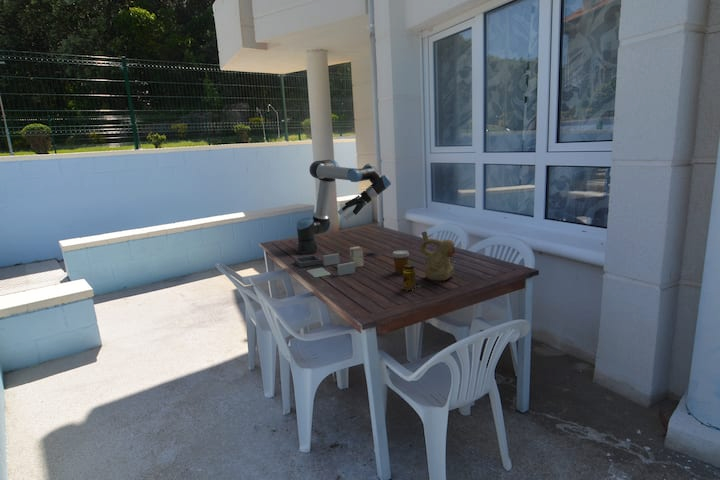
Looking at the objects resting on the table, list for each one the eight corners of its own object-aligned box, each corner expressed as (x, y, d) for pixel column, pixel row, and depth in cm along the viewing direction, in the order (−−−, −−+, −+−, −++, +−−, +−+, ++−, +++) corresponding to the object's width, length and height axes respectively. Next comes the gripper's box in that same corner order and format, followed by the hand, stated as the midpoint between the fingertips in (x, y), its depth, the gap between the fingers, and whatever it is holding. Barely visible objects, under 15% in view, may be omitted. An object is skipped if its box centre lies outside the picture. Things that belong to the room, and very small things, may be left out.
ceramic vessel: (450, 284, 219) (449, 236, 213) (415, 279, 229) (413, 234, 223) (461, 274, 233) (461, 230, 227) (427, 270, 243) (426, 227, 237)
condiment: (400, 289, 216) (399, 266, 214) (409, 284, 223) (408, 262, 220) (412, 291, 212) (411, 268, 209) (421, 286, 218) (420, 264, 215)
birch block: (350, 265, 264) (349, 247, 261) (359, 263, 266) (358, 246, 263) (354, 267, 258) (353, 249, 256) (363, 265, 261) (362, 248, 258)
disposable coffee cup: (398, 276, 237) (398, 255, 234) (389, 272, 245) (388, 251, 242) (413, 272, 241) (412, 252, 238) (403, 268, 249) (403, 249, 247)
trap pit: (294, 262, 276) (294, 258, 275) (315, 259, 281) (315, 254, 280) (301, 268, 263) (300, 263, 262) (322, 264, 269) (322, 259, 268)
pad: (306, 270, 257) (306, 270, 257) (321, 267, 261) (321, 267, 261) (314, 277, 243) (314, 277, 243) (331, 274, 247) (331, 274, 247)
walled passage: (323, 265, 267) (323, 255, 266) (338, 262, 271) (337, 253, 269) (339, 275, 244) (338, 265, 242) (355, 272, 248) (354, 262, 246)
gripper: (367, 193, 251) (339, 216, 253) (376, 204, 275) (351, 225, 277) (360, 184, 253) (332, 206, 255) (370, 195, 277) (344, 216, 279)
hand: (342, 216), depth 266 cm, fingers open, 13 cm apart
